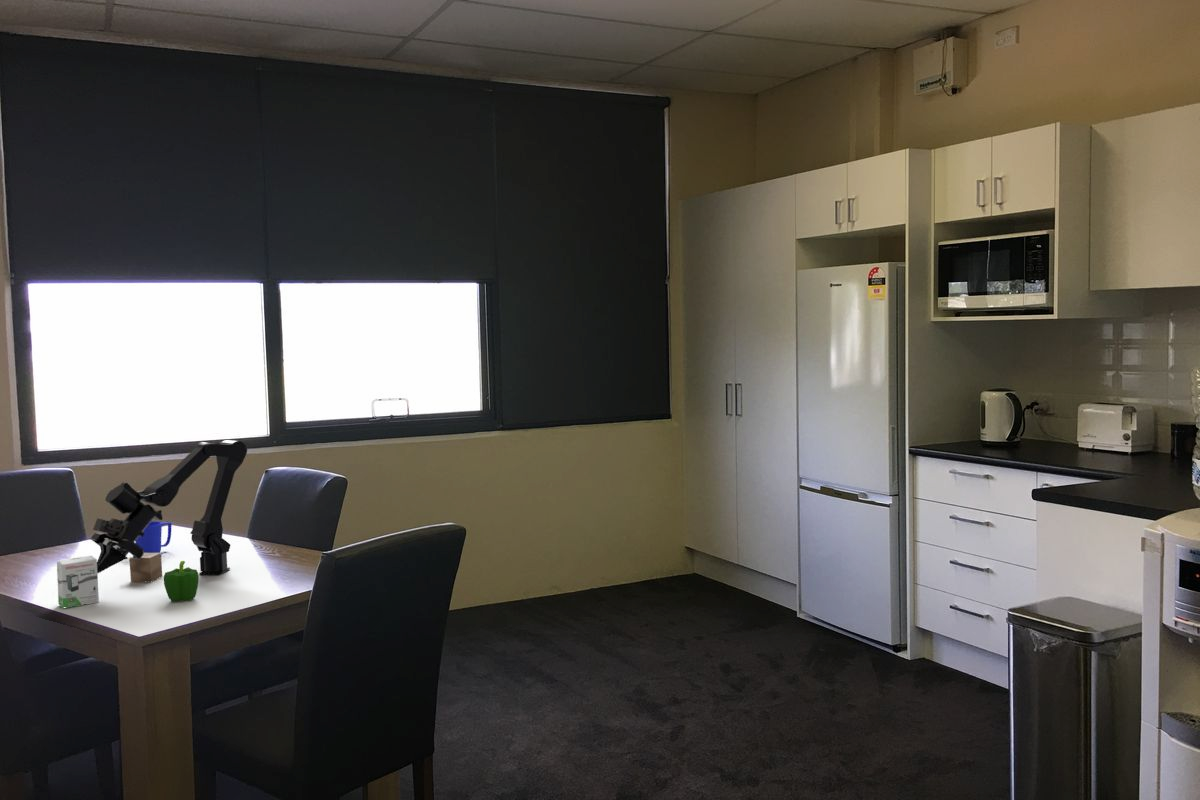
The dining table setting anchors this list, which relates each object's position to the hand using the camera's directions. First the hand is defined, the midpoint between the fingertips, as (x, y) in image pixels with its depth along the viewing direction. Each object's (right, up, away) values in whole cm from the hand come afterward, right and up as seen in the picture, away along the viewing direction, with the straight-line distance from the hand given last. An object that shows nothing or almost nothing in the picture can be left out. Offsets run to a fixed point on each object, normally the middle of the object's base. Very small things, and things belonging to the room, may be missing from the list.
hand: (95, 572), depth 255 cm
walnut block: (+4, -6, +21) cm, 22 cm away
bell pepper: (+24, -7, -1) cm, 25 cm away
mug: (-8, -4, +52) cm, 53 cm away
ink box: (-3, -8, -3) cm, 9 cm away
